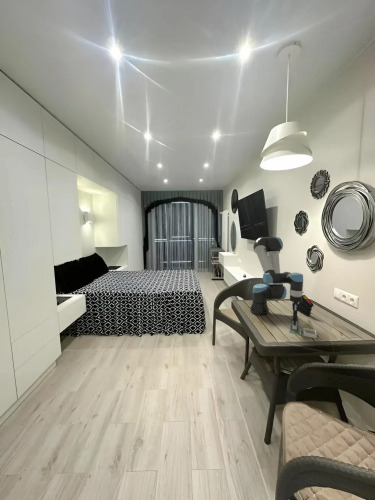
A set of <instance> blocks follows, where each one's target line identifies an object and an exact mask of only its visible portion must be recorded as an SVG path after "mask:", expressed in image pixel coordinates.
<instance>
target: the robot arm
mask: <svg viewBox="0 0 375 500" xmlns="http://www.w3.org/2000/svg"><path fill="white" fill-rule="evenodd" d="M283 247H284V243H283V241H282V239H281V238H280V237H278V236H260V237H258V238H257V239H256V240H255V241H254V243H253V247H252V248H253V251H254V253H255V254H256V256H257V258H258V260H259V263H260V265H261V268H262V272H263V275H262V280H263V283H257V284H255V285H253V287H252V303H251V304H250V305H251V306H250V307H249V308H250V309H249V311H250V312H251V314H254V315H258V316H267V315H268V314H269V313H270V309H269V306H268V301H282V300H284V299H286V297H287V294H288V293H287V287H286V286H285V285H284V284H288V285H289V301H291V302H292V304H291V307H292V316H293V319H292V320H293V323H292V329H294V330H297V317H298V318H299V316H298V312H299V311H298V307H299V303H300V302H302V295H303V294H304V289H303V287H304V275H303V273H299V272H289V271H284V272H281V266H280V255H279V254H280V253H281V251H282V250H283ZM264 283H265V284H264Z"/></svg>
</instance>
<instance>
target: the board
mask: <svg viewBox="0 0 375 500" xmlns="http://www.w3.org/2000/svg"><path fill="white" fill-rule="evenodd" d="M288 332H289V334H294V335H296V336H297V335H298V336H302V337H307V338H311V339H316V340H318V333H317V330H316V329H312V328H307V327H300V326H298V331H297V330H293V329H291V324H290V325H289V329H288Z"/></svg>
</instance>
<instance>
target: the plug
mask: <svg viewBox="0 0 375 500" xmlns="http://www.w3.org/2000/svg"><path fill="white" fill-rule="evenodd" d="M292 319H293V315H292V316H291V321H290V322H291V323H290V325H291V329H292V323H293V320H292ZM299 322H300V319H299V316H298V317H297V331H298V327H300V325H299ZM293 330H294V329H293Z"/></svg>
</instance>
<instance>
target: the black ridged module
mask: <svg viewBox="0 0 375 500" xmlns="http://www.w3.org/2000/svg"><path fill="white" fill-rule="evenodd" d="M312 308H314V303H313V302H312V301H311V300H310V299H309V298H308V296H306V295H305V294H302V302H300V303H299V307H298V311H297V312H299V313H301V314H303V315H304V316H308V317H309V316H311V315H312V313H311V312H312V311H313V310H312Z"/></svg>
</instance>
